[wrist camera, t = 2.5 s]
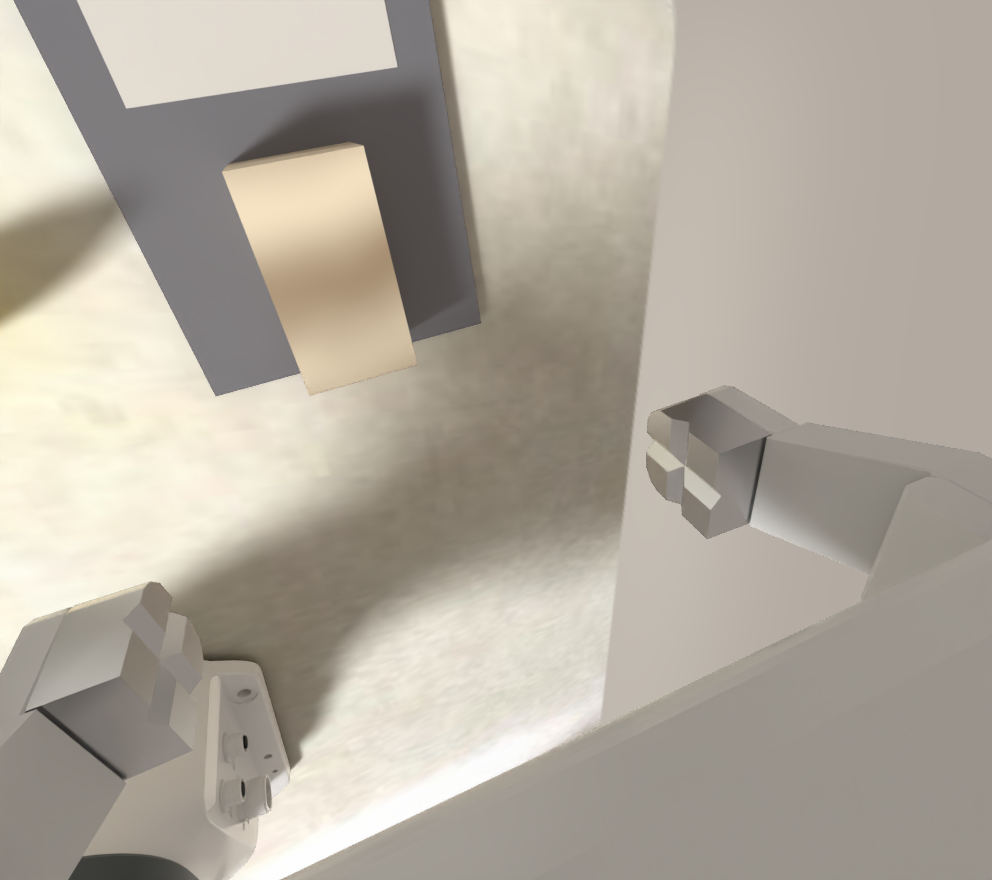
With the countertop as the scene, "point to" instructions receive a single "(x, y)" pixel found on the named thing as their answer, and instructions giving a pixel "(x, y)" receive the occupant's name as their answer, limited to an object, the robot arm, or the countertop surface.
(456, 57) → the countertop surface
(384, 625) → the countertop surface
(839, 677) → the robot arm
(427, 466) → the countertop surface
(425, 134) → the mat
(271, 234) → the block
